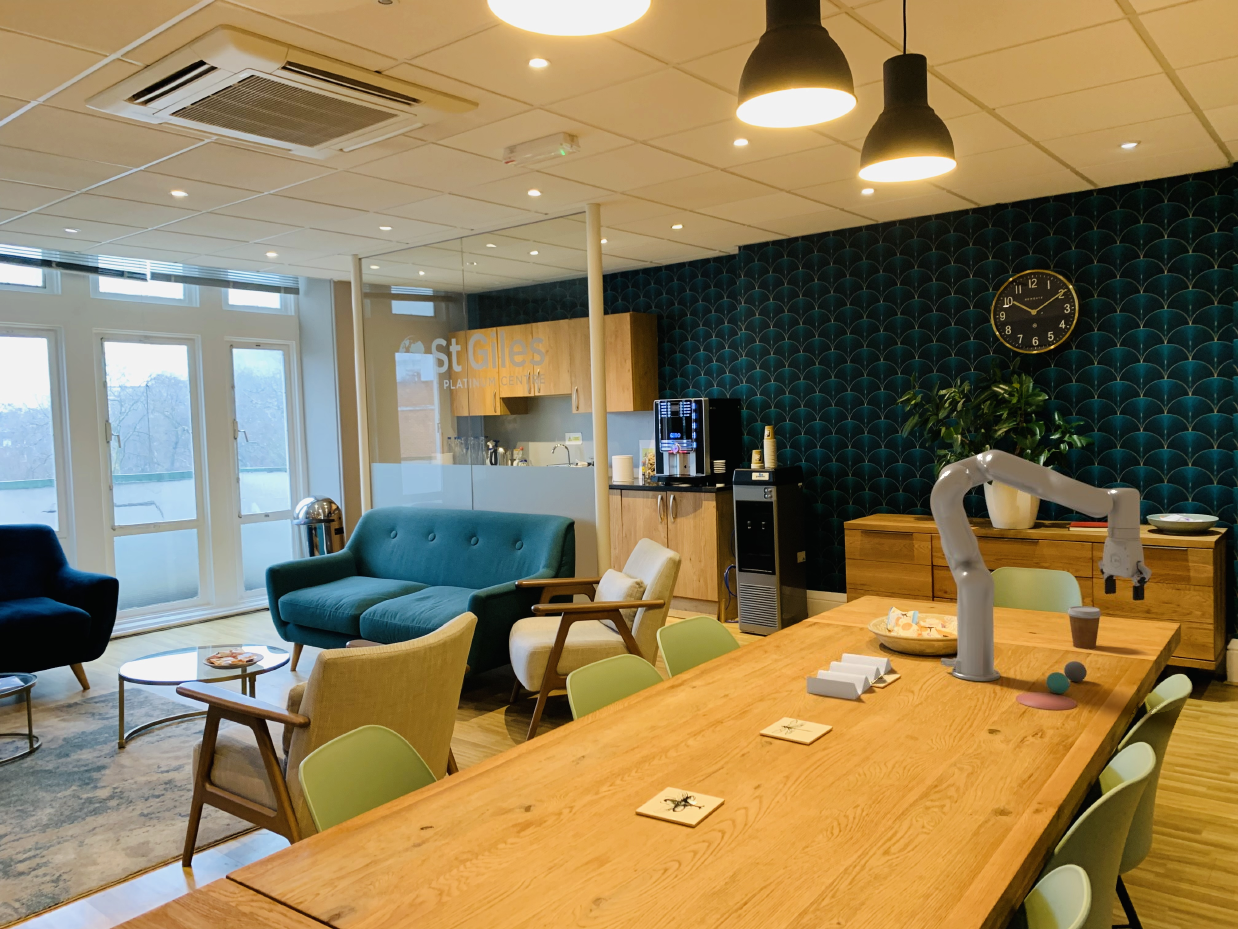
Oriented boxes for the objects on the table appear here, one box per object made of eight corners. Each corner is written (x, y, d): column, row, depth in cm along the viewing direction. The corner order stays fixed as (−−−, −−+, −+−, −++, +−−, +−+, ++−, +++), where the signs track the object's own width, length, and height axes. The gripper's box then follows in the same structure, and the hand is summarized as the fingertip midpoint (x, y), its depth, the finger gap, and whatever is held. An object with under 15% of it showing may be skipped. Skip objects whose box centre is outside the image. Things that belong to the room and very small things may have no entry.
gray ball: (1064, 683, 243) (1064, 663, 243) (1063, 677, 248) (1063, 658, 248) (1087, 685, 241) (1087, 665, 240) (1086, 679, 246) (1085, 659, 245)
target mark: (1015, 706, 224) (1015, 705, 224) (1015, 691, 237) (1015, 690, 237) (1078, 712, 218) (1078, 712, 218) (1074, 696, 231) (1074, 695, 231)
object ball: (1046, 695, 233) (1046, 674, 233) (1045, 689, 238) (1045, 669, 238) (1070, 697, 231) (1070, 676, 230) (1069, 691, 236) (1068, 670, 235)
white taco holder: (892, 670, 263) (892, 652, 262) (854, 702, 233) (854, 683, 233) (849, 664, 270) (848, 647, 270) (806, 695, 240) (806, 676, 240)
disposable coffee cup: (1093, 642, 285) (1093, 605, 284) (1106, 650, 276) (1106, 611, 275) (1062, 642, 286) (1062, 605, 285) (1074, 650, 276) (1074, 612, 276)
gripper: (1088, 531, 248) (1088, 592, 248) (1137, 538, 231) (1138, 603, 232) (1110, 529, 250) (1111, 590, 250) (1161, 536, 233) (1162, 601, 233)
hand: (1124, 596), depth 241 cm, fingers open, 9 cm apart
